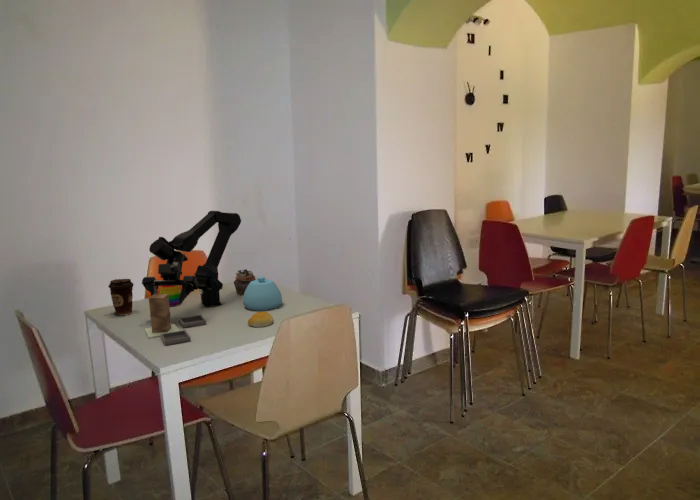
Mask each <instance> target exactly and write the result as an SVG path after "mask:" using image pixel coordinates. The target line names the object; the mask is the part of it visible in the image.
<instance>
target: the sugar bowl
mask: <svg viewBox="0 0 700 500" xmlns="http://www.w3.org/2000/svg"><path fill="white" fill-rule="evenodd" d="M282 302H283V296H282V293H281V290H280V289H279V287H278V286H277V284H276V283H275V281H274V280H272V279H268V278H267V279H266V276H258V277H257V279H256V280H254V281H251V282H250V283H249V285H248V287H247V288H246V290H245V293H244V295H243V297H242V304H243V305H244V306H245V307H246V308H247V309H248V310H250V309H251V310H250V311H257V310H261V311H266V310H265V309H270V310H272V309H271V308H274V309H276V308H278V307H279V306H280V305H281V304H282ZM277 306H278V307H277ZM275 307H276V308H275Z"/></svg>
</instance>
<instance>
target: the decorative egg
mask: <svg viewBox="0 0 700 500" xmlns="http://www.w3.org/2000/svg"><path fill="white" fill-rule="evenodd" d="M179 286H180V285H178V286H160V290H159V292H158V294H168V297H169V307H174V306H177V305H178V304H179V298H180V294H181V289H180V287H179Z"/></svg>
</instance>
